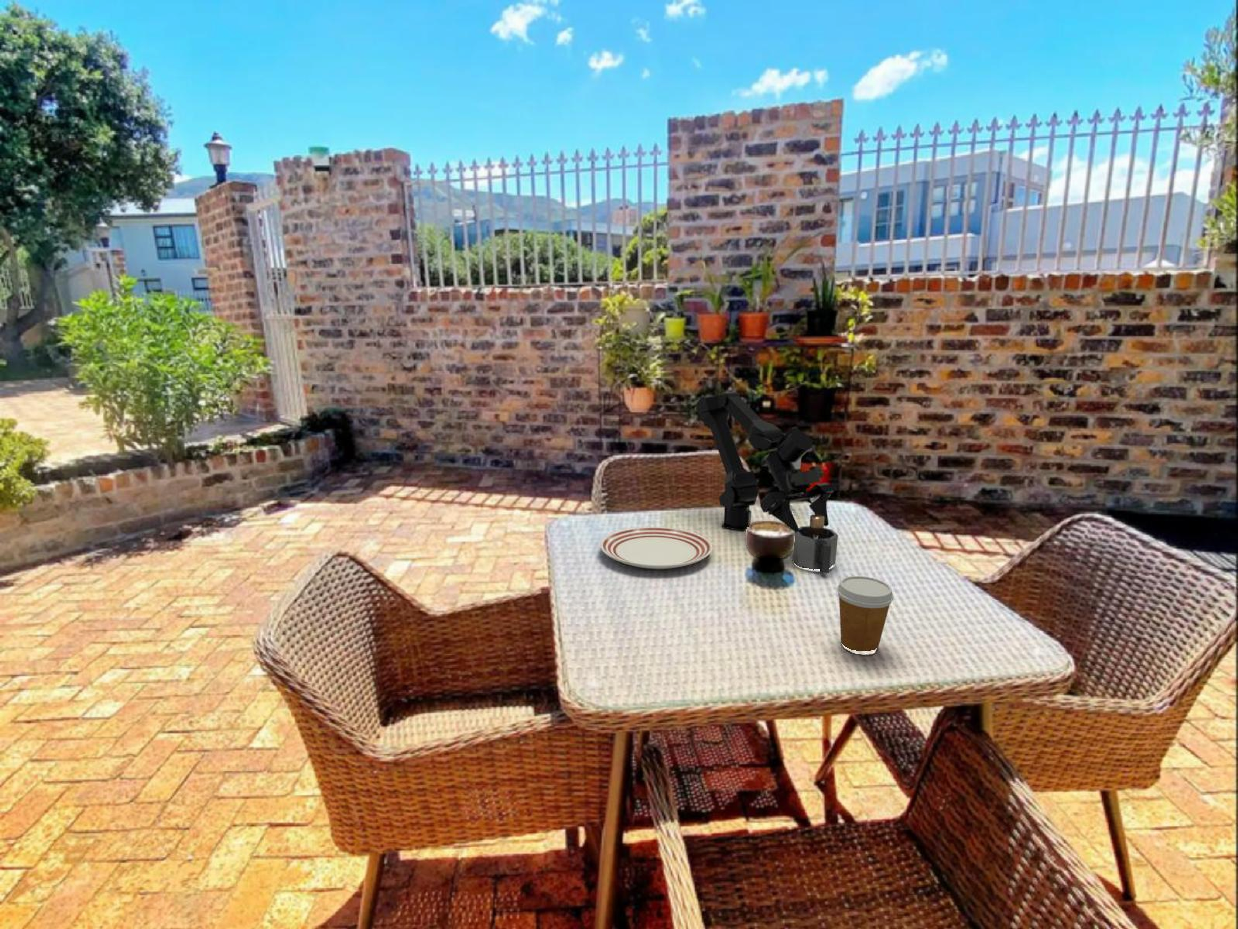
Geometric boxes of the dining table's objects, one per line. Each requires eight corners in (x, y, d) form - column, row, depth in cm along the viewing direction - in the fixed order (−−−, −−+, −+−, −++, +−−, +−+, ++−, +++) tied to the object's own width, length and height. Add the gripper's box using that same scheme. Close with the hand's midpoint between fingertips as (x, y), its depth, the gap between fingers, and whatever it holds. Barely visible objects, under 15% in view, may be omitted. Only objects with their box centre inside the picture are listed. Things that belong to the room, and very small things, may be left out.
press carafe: (788, 557, 158) (790, 526, 156) (824, 556, 158) (827, 525, 156) (805, 577, 146) (808, 544, 144) (844, 576, 147) (847, 543, 145)
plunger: (796, 562, 152) (799, 518, 149) (801, 552, 158) (805, 510, 155) (826, 567, 149) (830, 523, 146) (830, 557, 155) (834, 514, 152)
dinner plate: (599, 536, 172) (599, 524, 171) (701, 535, 173) (702, 523, 172) (601, 579, 146) (601, 566, 145) (721, 578, 147) (722, 564, 146)
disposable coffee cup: (843, 628, 124) (848, 570, 121) (894, 645, 118) (901, 584, 115) (823, 648, 117) (828, 587, 114) (877, 667, 111) (884, 603, 108)
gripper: (771, 459, 149) (800, 518, 142) (831, 450, 157) (862, 507, 150) (747, 483, 158) (774, 540, 151) (806, 474, 166) (833, 528, 159)
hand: (812, 528), depth 153 cm, fingers open, 9 cm apart
